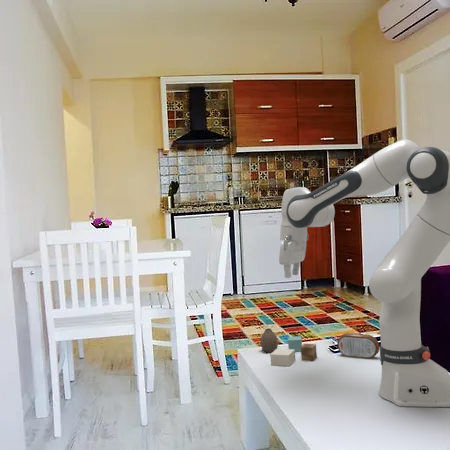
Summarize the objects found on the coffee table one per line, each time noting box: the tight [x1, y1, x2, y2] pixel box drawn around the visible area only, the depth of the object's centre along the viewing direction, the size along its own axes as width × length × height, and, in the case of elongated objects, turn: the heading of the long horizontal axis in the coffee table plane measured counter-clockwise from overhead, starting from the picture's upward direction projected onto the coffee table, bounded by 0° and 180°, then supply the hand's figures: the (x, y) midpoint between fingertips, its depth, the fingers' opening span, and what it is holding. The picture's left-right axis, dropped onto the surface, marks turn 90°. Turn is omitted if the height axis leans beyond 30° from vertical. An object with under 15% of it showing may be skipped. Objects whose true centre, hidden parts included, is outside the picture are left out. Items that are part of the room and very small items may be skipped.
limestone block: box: [269, 348, 296, 367], centre depth 186 cm, size 7×7×4 cm
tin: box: [336, 332, 380, 359], centre depth 185 cm, size 15×3×8 cm, turn 58°
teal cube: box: [287, 335, 303, 354], centre depth 199 cm, size 5×5×5 cm
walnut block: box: [300, 343, 318, 362], centre depth 188 cm, size 4×4×5 cm
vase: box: [259, 328, 279, 353], centre depth 201 cm, size 7×7×9 cm
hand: (291, 276), depth 171 cm, fingers open, 8 cm apart
